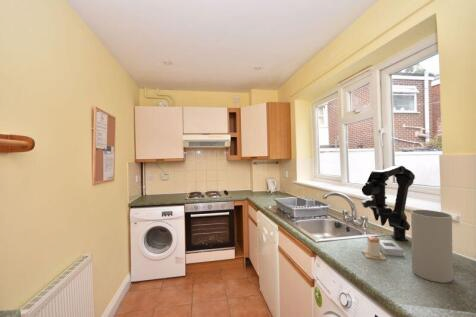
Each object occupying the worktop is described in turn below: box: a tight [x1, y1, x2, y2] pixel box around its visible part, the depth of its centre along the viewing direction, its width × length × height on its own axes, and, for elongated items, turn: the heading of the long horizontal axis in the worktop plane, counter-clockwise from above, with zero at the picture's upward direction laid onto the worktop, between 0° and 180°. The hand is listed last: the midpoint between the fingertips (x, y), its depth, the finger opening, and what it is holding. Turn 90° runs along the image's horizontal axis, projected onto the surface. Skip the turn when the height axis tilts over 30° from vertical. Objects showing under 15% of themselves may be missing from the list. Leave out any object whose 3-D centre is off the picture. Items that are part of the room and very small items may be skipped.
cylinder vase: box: [410, 209, 454, 284], centre depth 91 cm, size 12×12×25 cm
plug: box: [366, 235, 381, 257], centre depth 110 cm, size 4×4×8 cm
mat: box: [361, 250, 387, 261], centre depth 110 cm, size 8×8×1 cm
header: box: [379, 239, 404, 257], centre depth 116 cm, size 12×8×3 cm, turn 166°
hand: (379, 222), depth 123 cm, fingers open, 9 cm apart
